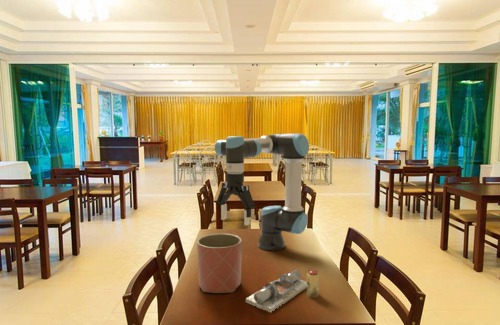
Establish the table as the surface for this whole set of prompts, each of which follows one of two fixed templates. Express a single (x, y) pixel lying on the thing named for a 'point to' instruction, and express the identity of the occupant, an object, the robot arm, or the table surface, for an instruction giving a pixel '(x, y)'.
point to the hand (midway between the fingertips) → (235, 221)
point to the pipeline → (278, 291)
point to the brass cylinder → (312, 284)
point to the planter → (219, 262)
